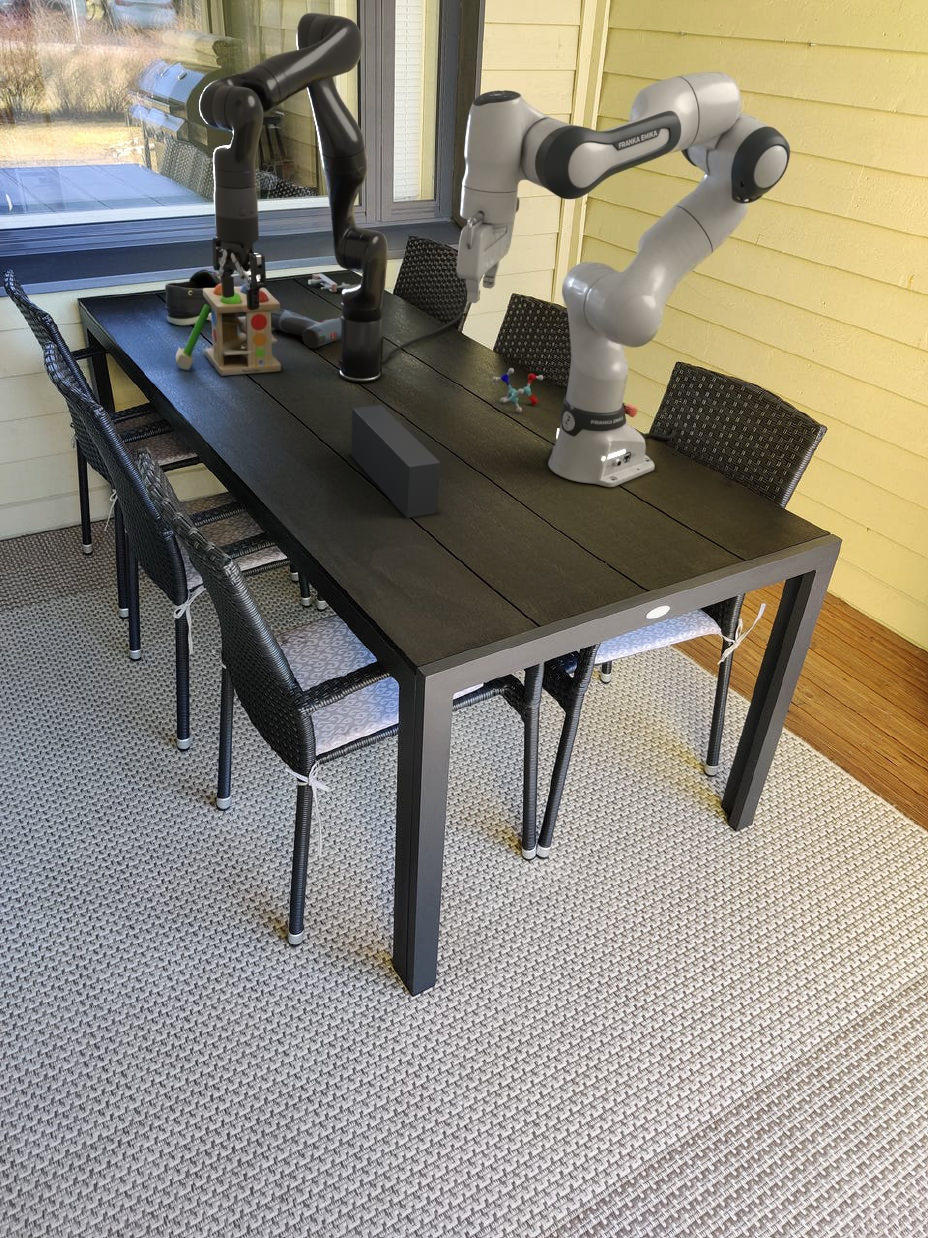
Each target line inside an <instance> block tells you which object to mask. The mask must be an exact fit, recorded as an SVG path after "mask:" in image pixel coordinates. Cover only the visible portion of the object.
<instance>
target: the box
mask: <svg viewBox="0 0 928 1238" xmlns="http://www.w3.org/2000/svg"><path fill="white" fill-rule="evenodd" d="M351 409H352V411H351V412H352V413H351V455H350V456H351V457H352V458H353V459H354V461H355V462H356V463H357V464H358V465H359V466H360V467H361V468H362V470H363V471H364V472H365V473H366V474H367V475H368V477H370V479H371V480H372V481H373V482H374V483H375V485H377V487H378V488H379V489H380V490H381V491H382V492H383V494H385V496H386V497H387V498H388V499H389V500H390V502H392V503H393V504H394V506H395V507H396V508H397V509H398V510H399V511H400V512H401V514H402V515H403V516H404V517H405V518H406V519H409V518H415V517H421V516H427V515H435V514H437V513H438V500H439V488H440V487H439V486H440V474H441V461H440V460H439V459H438V458H436V456H435V455H433V454H432V453H431V452H430V451H429V450H428V449H427V448H426V447H425V446H424V445H423V444H422V443H421V442H420V441H419V440H418V439H417V438H416V437H415V436H414V435H413V434H411V432H409V431H408V430H407V429H406V428H405V426H403V425H402V424H401V423H400V422H399V421H398V420H397V419H396V418H395V417H394V416H393V415H392V414H391V413H390V412H389V411H388V410H387V409H386V408H384V406H383V405H381V404H378V405H369V406H361V407H360V406H359V407H352V408H351Z"/></svg>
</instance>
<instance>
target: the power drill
mask: <svg viewBox="0 0 928 1238" xmlns="http://www.w3.org/2000/svg"><path fill="white" fill-rule="evenodd" d="M271 328H274V329H276V330H278V331H281V332H284V333H288V334H290V335H296V336H300V337H302V341H303V343H304V344H305V346H306V347H308V348H309V349H316V348H319V347H322V346H325V345H328V344H330V343H333V342H336V341H338V340H341V317H338V318H331V319H324V320H322V321H320V322H319V321H316V320H314V319H312V318H309V317H306V316H304V315H302V314H300V313H297V312H293V311H291V310H288V309H283V308H280V310H271Z"/></svg>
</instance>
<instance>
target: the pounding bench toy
mask: <svg viewBox="0 0 928 1238" xmlns="http://www.w3.org/2000/svg"><path fill="white" fill-rule="evenodd" d="M246 289H247V288H246V285H245V284H244V285H243V286H242V287H234V296H233V297H229V298H225V297H223V295H222V283H221V284H218V285H217V286H216V287H215V288H204V289H203V296H204V297H205V299H206V300H207V301H208V302H209V304H210V305H211V307H210V306H208V305H204V307H203V309H202V311H201V314H200V316H199V318H198V320H197V322H196V323H195V324H194V327H193V329H192V331H191V332H190V333H191V334H190V336H189V338H188V340H187V343H186V344H185V347H184V348H182V347H180V346H179V347H178V349H177V351H176V354H175V357H174V358H175V362H176V365H177V366H178V368H179V369H182V370H185V371H189V370H190V369H191V367H192V365H193V363H194V356H193V351H194V348H195V347H196V345H197V342H198V340H199V337H200V336H201V333H202V332H203V329H204V326H205V325H206V322H207V321H210V322H211V336H212V337H211V338H212V339H211V340H212V348H205V349H204V352H205V353H204V355H205V357H206V359H208V361H209V363H210V364H211V365H212V366H213V367H214V369H215V370H216V371H217V372H218V374H219V375H220V376H222V377H223V376H234V375H235V376H236V375H246V374H247V375H250V374H262V373H275V372H281V370H282V364H281V363H280V362H279V360H278V359H277V358H276V357H275V356H274V355H273V348H272V347H273V345H272V344H276V343H278V342H279V341H278V339H277V338H276V337H275V336H274V334H272V327H271V310H280V309H281V304H280V301H278V300H277V299H276V297H274V296H273V295H272V294H271V293H270V292H269V290H268V289H267V288H266V287H265V288H260V289H259V309H256V310H249V309H248V308H247V295H246ZM210 310H211V314H209V312H210ZM238 313H244V314H245V315H244V316H238ZM207 318H209V320H207ZM238 329H239V331H240V333H239V334H238Z"/></svg>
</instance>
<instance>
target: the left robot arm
mask: <svg viewBox="0 0 928 1238" xmlns="http://www.w3.org/2000/svg"><path fill="white" fill-rule="evenodd" d="M296 48H297V49H295V50H290V51H285V52H282V53H278V54H275V55H272V56H269V57H267V58H265V59H263V60H262V61H260V62H258V63H256V64H255V65H254V66H252V67H250V68H249V69H248V70H246V71H243V72H239V73H234V74H231V75H228V76H225V77H221V78H218V79H216V80H214V81H212V82H210V83H209V84H208V85H207V86H205V88H204V90H203V91H202V93H201V95H200V98H199V103H198V104H199V105H198V106H199V113H200V117H202V120H203V121H204V122H205V123H206V124H207V125H208V126H209V127H211V128H213V129H216V130H220V131H226V132H230V133H232V140H231V142H230V144H229V145H222V146H218V147H216V148H215V149H214V150H213V151H214V152H213V157H212V161H213V180H214V181H213V182H214V189H213V190H214V191H213V205H214V221H215V237H213V238H212V268H213V270H214V272H218V274H219V277H220V276H221V281H222V295H223V297H225V298H229V297H233V296H234V277H233V276H234V273H235V271H236V273H238V275H239V276H240V278H242V279H243V280H244V282H245V285H246V288H247V289H246V295H247V308H248V309H249V310H256V309H259V289H260V288H265V289H266V288H267V271H266V255H265V253H263V252H260V253H256V252H255V250H254V249H255V248H254V243H256V242H257V241H258V240H259V239H260V235H259V234H260V233H259V207H258V205H259V204H258V195H257V189H256V187H257V186H256V166H255V164H256V163H255V162H256V156H257V151H258V146H259V141H260V136H261V133H262V128H263V123H264V113H268V112H270V111H273V110H274V109H275V108H277V107H279V106H280V105H281V104H283V103H284V102H286V101H287V100H289V99H290V98H292V97H293V96H295V95H297V94H298V93H301V92H302V91H304V90H307V92H308V96H309V100H310V104H311V109H312V114H313V119H314V124H315V129H316V134H317V141H318V147H319V154H320V160H321V165H322V170H323V176H324V180H325V186H326V190H327V191H326V192H327V197H328V205H329V213H330V223H331V225H330V226H331V235H332V237H331V238H332V248H333V253H334V257H335V258H334V259H335V261H336V263H337V265H338V266H339V267H340V268H342V269H344V270H347V271H351V272H355V273H360V274H361V281H360V283H357V284H349V285H350V286H347V287H345V288H342V290H341V307H340V308H341V310H340V311H341V312H340V314H341V315H340V318H341V338H340V358H339V359H338V367H340V369H339V376H340V377H341V378H342V380H345V381H348V382H352V383H359V384H360V383H361V384H364V383H365V384H366V383H367V384H369V383H373V382H376V381H378V380H380V378H381V375H382V374H383V364H384V363H386V362H387V361H388V360H389V358H390V357H391V356H392V355H393V354H395V353H397V352H398V351H400V350H402V349H404V348H406V347H408V346H411V345H413V344H415V343H417V342H419V341H422V340H424V339H426V338H429V337H431V336H433V335H435V334H437V333H439V332H441V331H444V330H446V329H447V328H449V327H450V326H452V325H454V324H455V323H457V322H458V321H459V320H460V319H462V317H463V316H467V314H466V312H465V313H464V314H463V312H462V311H460V313H459V314H458V316H457V317H455V318H454V319H453V320H451V321H450V322H449V321H448V323H446V324H444V325H442V326H441V327H439V328H437V329H434V330H432V331H430V332H428V333H425V334H423V335H420V336H418V337H415V338H414V339H411V340H409V341H407V342H404V343H403V344H400V345H399V346H396V347H394V348H393V349H391V350H390V351H389V352H387V354H386V355H385V356H384V358H383V353H384V335H383V334H382V323H383V299H384V298H383V297H384V295H385V289H386V282H387V281H386V278H387V266H388V256H389V247H388V241H387V238H386V236H385V234H384V233H383V232H381V231H378V230H373V229H369V228H363V227H361V226H360V227H359V226H358V225H357V223H356V220H355V202H356V199H357V197H358V195H359V193H360V191H361V189H362V187H363V185H364V182H365V180H366V179H367V175H368V168H369V167H368V158H367V151H366V143H365V138H364V135H363V132H362V130H361V128H360V126H359V124H358V122H357V121H356V119H355V117H354V116H353V114H352V113H351V111H350V110H349V108H348V107H347V105H346V104H345V102H344V101H343V99H342V98H341V97H342V96H341V95H340V94H339V92H338V89H337V87H336V83H335V80H334V78H335V77H337V76H341V75H343V74H346V73H349V72H351V71H352V70H353V69H355V67H356V66H357V65H358V63H359V61H360V59H361V55H362V50H363V38H362V34H361V30H360V28H359V26H358V25H357V23H356V22H355V21H353V20H352V19H350V18H347V17H345V16H341V15H333V14H326V13H320V12H307V13H305V14H303V15H302V16H301V17H300V19H299V21H298V23H297V27H296ZM219 259H220V260H219ZM259 277H260V278H259ZM249 278H250V280H251V282H250V280H249Z"/></svg>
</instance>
